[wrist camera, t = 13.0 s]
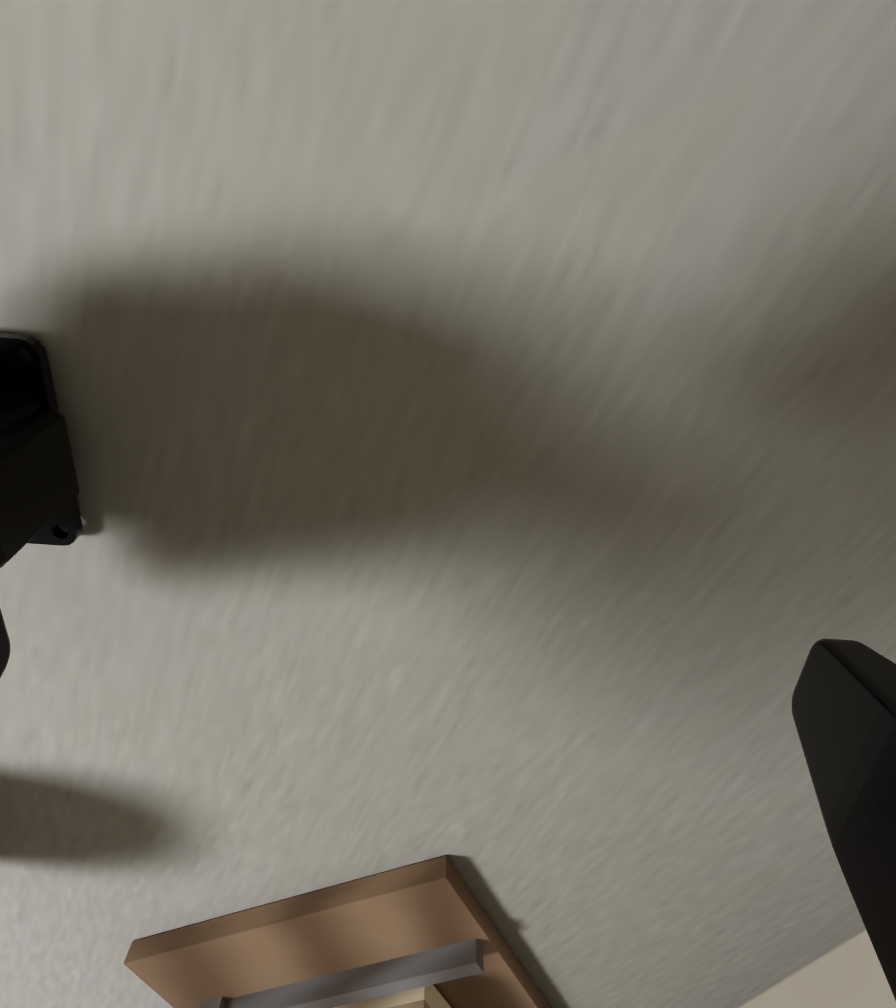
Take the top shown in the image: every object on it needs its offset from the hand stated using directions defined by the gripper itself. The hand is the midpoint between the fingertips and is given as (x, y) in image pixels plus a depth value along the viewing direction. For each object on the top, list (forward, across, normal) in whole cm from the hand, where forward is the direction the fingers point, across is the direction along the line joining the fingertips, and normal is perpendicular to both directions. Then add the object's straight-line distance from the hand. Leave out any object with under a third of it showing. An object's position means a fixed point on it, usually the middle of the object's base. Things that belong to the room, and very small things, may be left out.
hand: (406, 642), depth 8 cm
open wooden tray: (+13, +2, +33) cm, 35 cm away
